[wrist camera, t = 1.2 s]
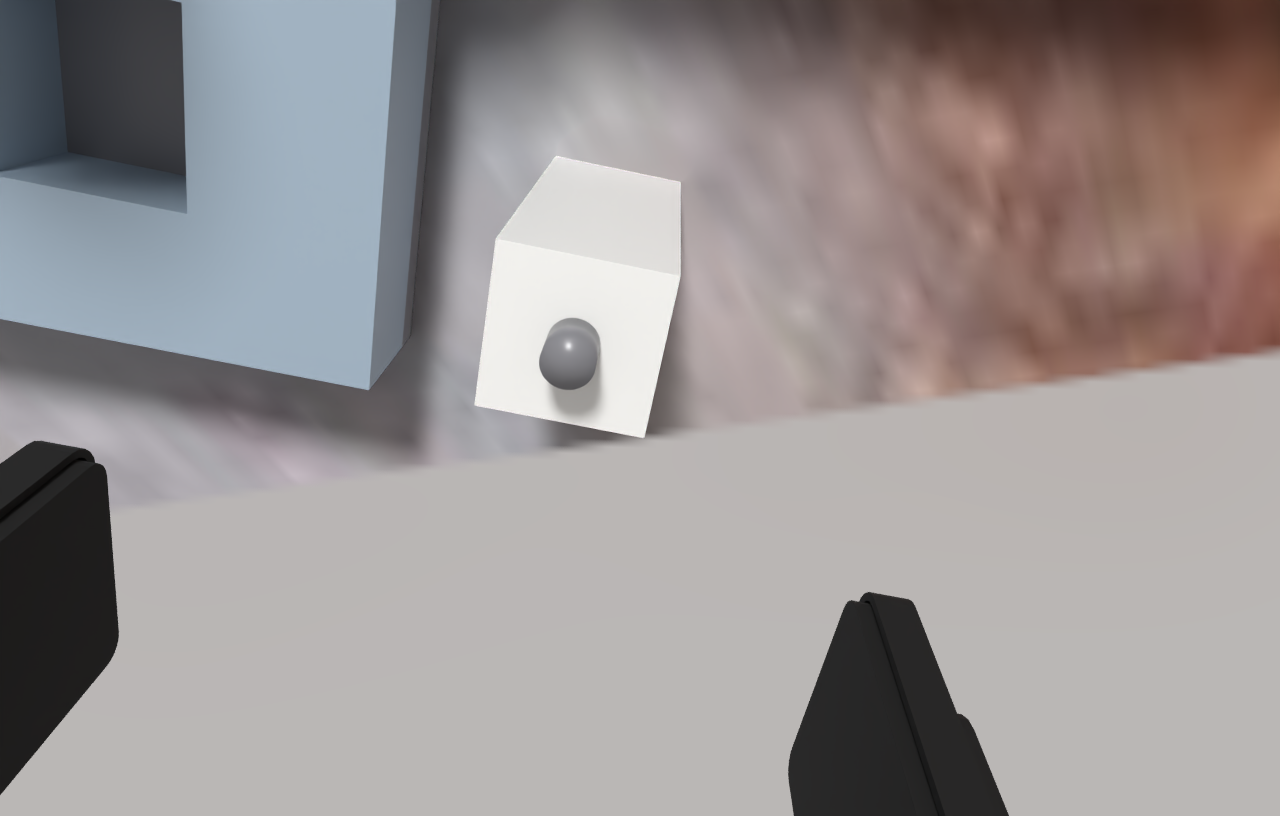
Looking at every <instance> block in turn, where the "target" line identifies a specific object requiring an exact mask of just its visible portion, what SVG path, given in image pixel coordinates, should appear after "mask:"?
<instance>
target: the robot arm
mask: <svg viewBox="0 0 1280 816" xmlns="http://www.w3.org/2000/svg"><path fill="white" fill-rule="evenodd" d="M118 637H119V630H118V617H117V603H116V590H115V578H114V563H113V550H112V537H111V524H110V510H109V496H108V483H107V474H106V470H105V468H104V466H103V465H101V464H98V463H95V460H94V457H93V455H92V454H91V452H90V451H88V450H86V449H82V448H77V447H71V446H66V445H61V444H55V443H50V442H44V441H34V442H32V443H30V444H28V445H26V446H25V447H23V448H22V449H20V450H19V451H18V452H16V453H15V454H13V455H12V456H11V457H9V458H8V459H6V460H5V461H4V462H2V463H1V464H0V795H1V793H2V792H3V791H4V790H5V789H6V787H7V786H8V785H9V784H10V783H11V781H12V780H13V779H14V778H15V776H16V775H17V774H18V773H19V772H20V770H21V769H22V768H23V767H24V766H25V764H26V763H27V762H28V761H29V759H30V758H31V757H32V756H33V755H34V753H35V752H36V751H37V750H38V749H39V747H40V746H41V745H42V744H43V743H44V741H45V740H46V739H47V738H48V737H49V735H50V734H51V733H52V732H53V730H54V729H55V728H56V727H57V726H58V724H59V723H60V722H61V721H62V720H63V718H64V717H65V716H66V715H67V713H68V712H69V711H70V710H71V709H72V707H73V706H74V705H75V704H76V703H77V701H78V700H79V699H80V698H81V697H82V695H83V694H84V693H85V692H86V690H87V689H88V688H89V687H90V686H91V684H92V683H93V682H94V681H95V680H96V678H97V677H98V676H99V675H100V674H101V672H102V671H103V670H104V669H105V667H106V666H107V665H108V663H109V662H110V660H111V658H112V657H113V655H114V653H115V650H116V647H117V643H118ZM788 771H789V773H788V776H789V786H790V792H791V799H792V805H793V812H794V816H1009V815H1008V812H1007V810H1006V808H1005V805H1004V802H1003V800H1002V798H1001V795H1000V793H999V790H998V788H997V785H996V783H995V780H994V778H993V776H992V773H991V770H990V768H989V765H988V763H987V761H986V758H985V756H984V753H983V751H982V748H981V746H980V743H979V741H978V738H977V736H976V733H975V731H974V729H973V727H972V725H971V724H970V722H969V720H968V719H967V718H966V717H964V716H963V715H962V714H957V712H956V710H955V707H954V704H953V702H952V699H951V697H950V694H949V692H948V689H947V687H946V684H945V682H944V679H943V676H942V674H941V671H940V669H939V666H938V664H937V661H936V658H935V656H934V653H933V651H932V648H931V646H930V643H929V640H928V638H927V635H926V633H925V630H924V628H923V625H922V623H921V620H920V617H919V615H918V612H917V610H916V607H915V605H914V604H913V602H912V601H911V600H909V599H904V598H898V597H892V596H887V595H882V594H876V593H871V592H868V593H865V594H864V595H863V596H862V597H861V599H860V601H859V602H857V601H852V600H851V601H848V602H847V604H846V606H845V607H844V610H843V612H842V615H841V618H840V620H839V623H838V626H837V628H836V631H835V634H834V636H833V639H832V642H831V644H830V647H829V650H828V653H827V655H826V658H825V661H824V663H823V666H822V669H821V671H820V674H819V677H818V680H817V682H816V685H815V688H814V691H813V693H812V696H811V698H810V701H809V704H808V707H807V709H806V712H805V715H804V717H803V720H802V723H801V725H800V728H799V731H798V733H797V736H796V739H795V742H794V744H793V747H792V750H791V754H790V759H789V768H788Z"/></svg>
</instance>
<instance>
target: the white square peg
mask: <svg viewBox="0 0 1280 816" xmlns="http://www.w3.org/2000/svg"><path fill="white" fill-rule="evenodd" d="M680 277H681V182H679V181H674V180H669V179H664V178H660V177H655V176H650V175H645V174H640V173H636V172H631V171H626V170H621V169H616V168H612V167H607V166H602V165H597V164H592V163H588V162H583V161H578V160H573V159H568V158H563V157H559V156H555V158H554V159H553V160H552V162H551V163H550V164H549V166H548V167H547V169H546V170H545V171H544V173H543V174H542V175H541V177H540V178H539V180H538V181H537V182H536V184H535V185H534V187H533V188H532V189H531V191H530V192H529V193H528V195H527V196H526V198H525V199H524V200H523V202H522V203H521V204H520V206H519V207H518V209H517V210H516V211H515V213H514V214H513V216H512V217H511V218H510V220H509V221H508V222H507V224H506V225H505V227H504V228H503V229H502V231H501V232H500V233H499V235H498V236H497V238H496V241H495V249H494V257H493V265H492V273H491V280H490V288H489V296H488V304H487V312H486V319H485V327H484V335H483V343H482V351H481V359H480V366H479V374H478V382H477V390H476V398H475V406H480V407H485V408H490V409H496V410H501V411H506V412H511V413H516V414H521V415H527V416H532V417H537V418H542V419H547V420H552V421H557V422H563V423H568V424H573V425H578V426H583V427H588V428H594V429H599V430H604V431H609V432H614V433H619V434H624V435H630V436H635V437H640V438H644V437H645V432H646V428H647V424H648V419H649V415H650V410H651V406H652V401H653V397H654V392H655V388H656V384H657V379H658V375H659V370H660V366H661V361H662V357H663V352H664V348H665V343H666V339H667V335H668V330H669V326H670V321H671V317H672V312H673V308H674V303H675V299H676V295H677V290H678V286H679V281H680Z"/></svg>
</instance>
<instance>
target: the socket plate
mask: <svg viewBox="0 0 1280 816" xmlns="http://www.w3.org/2000/svg"><path fill="white" fill-rule="evenodd" d="M439 9H440V0H0V319H3V320H8V321H13V322H19V323H24V324H29V325H34V326H39V327H44V328H50V329H55V330H60V331H65V332H70V333H75V334H81V335H86V336H91V337H96V338H101V339H107V340H112V341H117V342H122V343H127V344H132V345H138V346H143V347H148V348H153V349H158V350H163V351H169V352H174V353H179V354H184V355H189V356H194V357H200V358H205V359H210V360H215V361H220V362H226V363H231V364H236V365H241V366H246V367H251V368H257V369H262V370H267V371H272V372H277V373H282V374H288V375H293V376H298V377H303V378H308V379H313V380H319V381H324V382H329V383H334V384H339V385H344V386H350V387H355V388H360V389H365V390H370V388H371V387H372V386H373V384H374V383H375V382H376V381H377V379H378V378H379V377H380V375H381V374H382V373H383V371H384V370H385V369H386V367H387V366H388V365H389V364H390V362H391V361H392V360H393V358H394V357H395V356H396V354H397V353H398V352H399V350H400V349H401V348H402V346H403V345H404V344H405V343H406V341H407V340H408V339H409V337H410V334H411V322H412V311H413V300H414V289H415V278H416V266H417V255H418V244H419V233H420V222H421V210H422V199H423V188H424V177H425V166H426V154H427V143H428V132H429V121H430V110H431V98H432V87H433V76H434V65H435V54H436V42H437V31H438V20H439Z"/></svg>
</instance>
